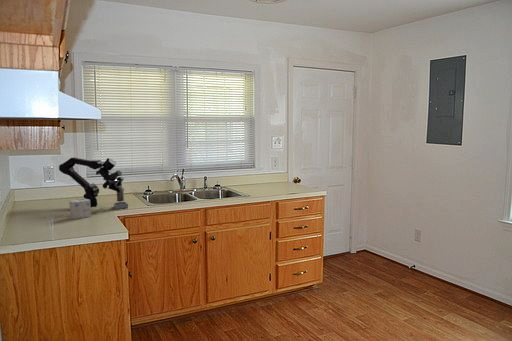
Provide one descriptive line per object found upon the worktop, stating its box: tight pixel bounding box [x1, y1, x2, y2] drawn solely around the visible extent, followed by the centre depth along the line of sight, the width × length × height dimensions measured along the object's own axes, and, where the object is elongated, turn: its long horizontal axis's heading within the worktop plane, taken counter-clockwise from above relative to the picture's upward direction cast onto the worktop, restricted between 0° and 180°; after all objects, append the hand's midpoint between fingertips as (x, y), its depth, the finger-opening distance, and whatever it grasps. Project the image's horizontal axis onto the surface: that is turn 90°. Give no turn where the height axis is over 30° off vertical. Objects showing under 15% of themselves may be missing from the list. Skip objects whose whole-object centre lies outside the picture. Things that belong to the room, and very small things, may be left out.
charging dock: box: [113, 201, 129, 210], centre depth 278 cm, size 8×8×3 cm
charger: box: [116, 185, 125, 202], centre depth 277 cm, size 4×4×10 cm
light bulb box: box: [68, 198, 92, 220], centre depth 252 cm, size 11×7×11 cm, turn 141°
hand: (121, 191), depth 276 cm, fingers closed on charger, 4 cm apart
